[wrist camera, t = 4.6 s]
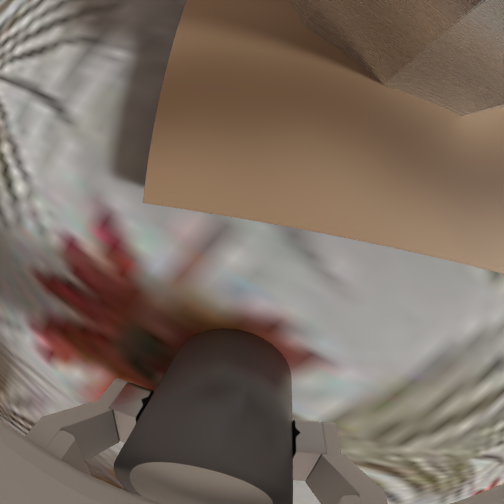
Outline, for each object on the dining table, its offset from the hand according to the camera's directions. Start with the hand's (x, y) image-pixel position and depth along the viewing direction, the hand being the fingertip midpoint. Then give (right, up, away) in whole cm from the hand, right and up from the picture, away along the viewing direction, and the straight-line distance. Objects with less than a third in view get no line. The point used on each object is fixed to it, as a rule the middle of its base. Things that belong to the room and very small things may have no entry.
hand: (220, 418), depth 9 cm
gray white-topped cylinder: (0, +1, +2) cm, 2 cm away
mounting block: (+7, +15, -2) cm, 17 cm away
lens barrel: (+7, +15, -4) cm, 16 cm away
